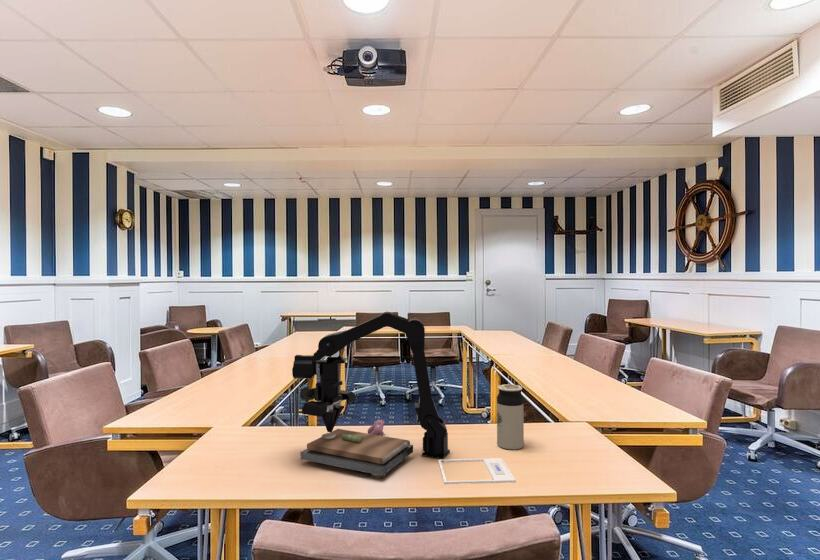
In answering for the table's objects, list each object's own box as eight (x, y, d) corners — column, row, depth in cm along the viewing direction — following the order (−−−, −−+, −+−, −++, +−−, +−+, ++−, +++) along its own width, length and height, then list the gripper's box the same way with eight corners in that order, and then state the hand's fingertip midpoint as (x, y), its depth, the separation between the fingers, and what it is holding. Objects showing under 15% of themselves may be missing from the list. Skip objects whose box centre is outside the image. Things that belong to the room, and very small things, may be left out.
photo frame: (515, 479, 115) (444, 481, 114) (515, 484, 115) (444, 485, 114) (501, 457, 130) (437, 459, 129) (501, 461, 130) (438, 463, 129)
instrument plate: (410, 445, 131) (410, 434, 131) (384, 464, 117) (384, 451, 117) (337, 433, 142) (337, 422, 142) (306, 449, 128) (306, 437, 128)
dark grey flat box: (413, 457, 132) (413, 444, 132) (382, 481, 116) (382, 467, 116) (338, 443, 143) (337, 432, 143) (300, 464, 127) (300, 451, 127)
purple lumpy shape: (376, 448, 143) (386, 428, 143) (363, 442, 143) (373, 422, 143) (378, 438, 153) (388, 419, 153) (366, 432, 153) (375, 413, 153)
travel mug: (521, 441, 145) (521, 384, 145) (525, 450, 137) (525, 390, 137) (496, 440, 145) (495, 383, 145) (498, 449, 137) (498, 389, 138)
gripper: (326, 370, 146) (326, 419, 146) (286, 382, 129) (286, 437, 129) (355, 373, 141) (356, 424, 141) (318, 385, 124) (318, 443, 124)
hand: (329, 431), depth 134 cm, fingers closed
